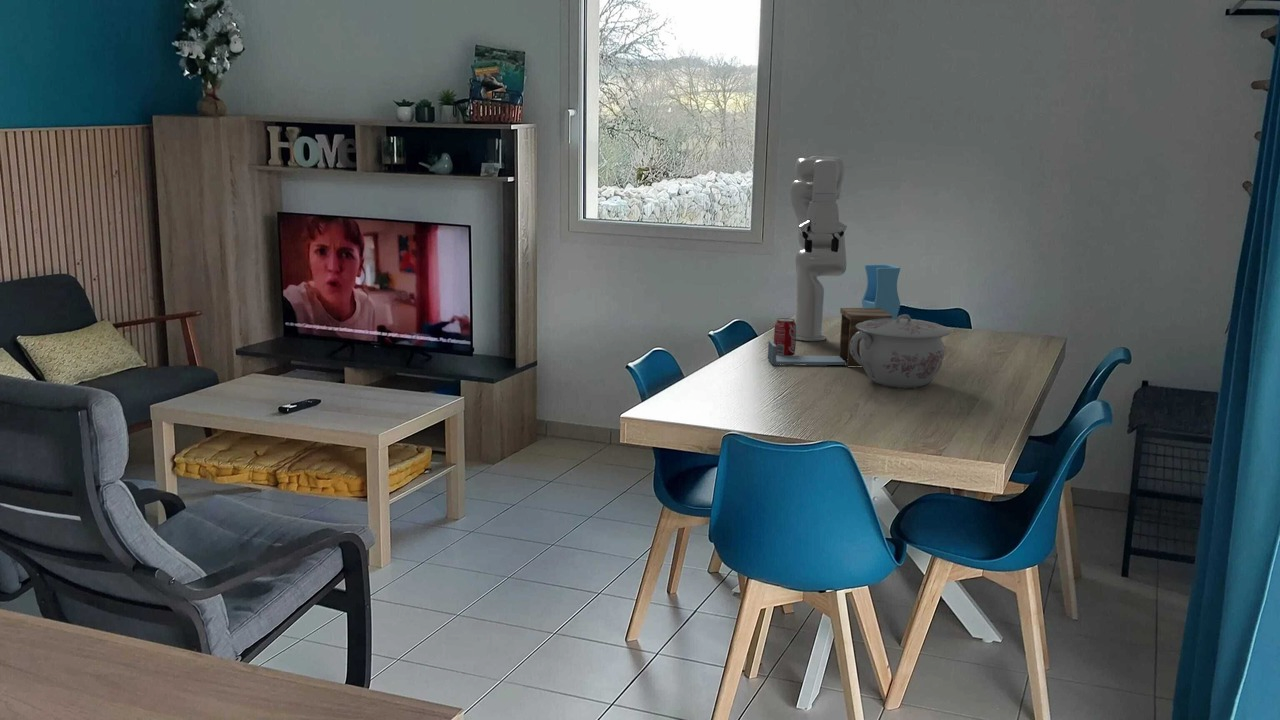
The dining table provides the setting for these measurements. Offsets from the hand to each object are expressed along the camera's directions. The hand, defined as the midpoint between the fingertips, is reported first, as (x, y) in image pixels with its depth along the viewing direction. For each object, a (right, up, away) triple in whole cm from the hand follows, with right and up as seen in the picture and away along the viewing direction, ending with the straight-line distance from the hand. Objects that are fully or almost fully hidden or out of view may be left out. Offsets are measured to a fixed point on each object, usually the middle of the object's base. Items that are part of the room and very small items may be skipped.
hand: (821, 251), depth 371 cm
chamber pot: (+17, -42, -33) cm, 56 cm away
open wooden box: (+12, -36, -7) cm, 39 cm away
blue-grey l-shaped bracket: (-6, -36, -8) cm, 37 cm away
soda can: (-12, -34, +2) cm, 36 cm away
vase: (+27, -27, +40) cm, 55 cm away
